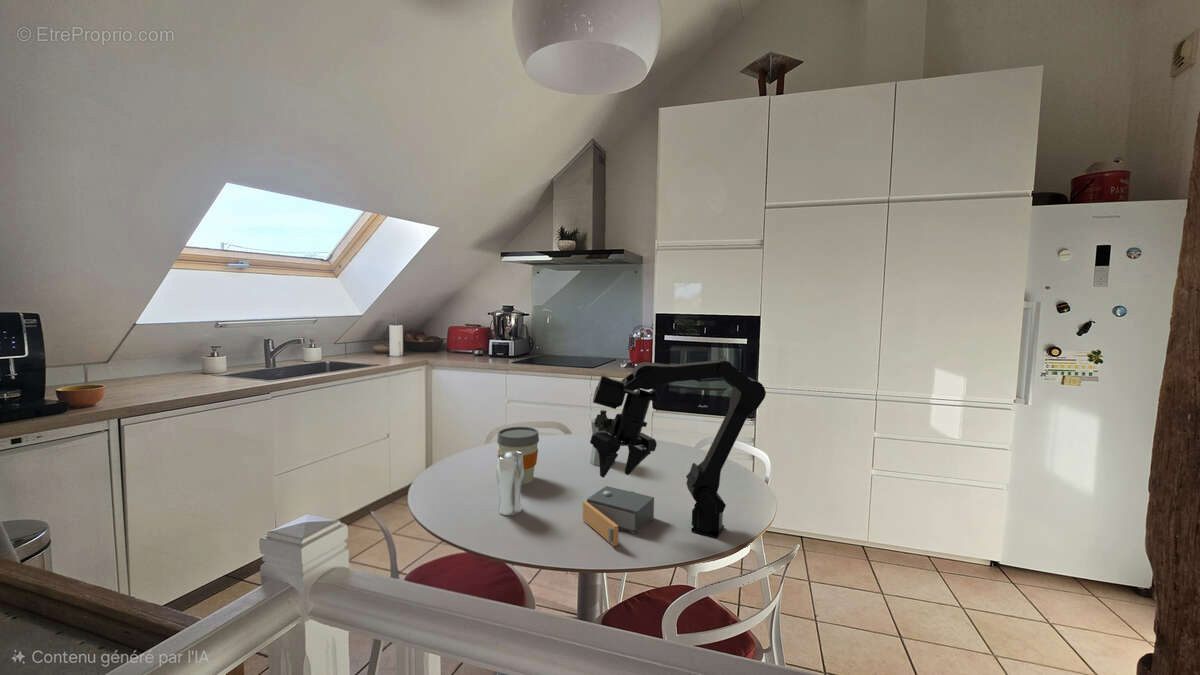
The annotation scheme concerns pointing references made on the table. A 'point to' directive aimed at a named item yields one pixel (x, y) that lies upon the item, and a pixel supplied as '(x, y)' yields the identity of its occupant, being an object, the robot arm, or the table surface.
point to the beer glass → (510, 481)
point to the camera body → (624, 508)
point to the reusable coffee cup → (521, 447)
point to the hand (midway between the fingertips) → (614, 475)
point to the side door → (600, 523)
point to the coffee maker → (594, 454)
